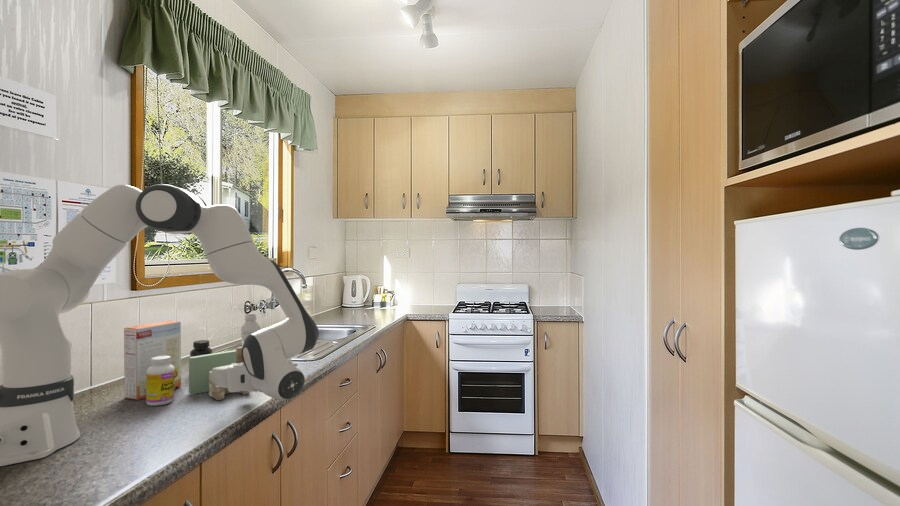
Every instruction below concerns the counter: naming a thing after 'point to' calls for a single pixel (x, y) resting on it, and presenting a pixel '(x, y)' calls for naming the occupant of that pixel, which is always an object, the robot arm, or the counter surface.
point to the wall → (206, 369)
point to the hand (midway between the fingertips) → (242, 364)
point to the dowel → (239, 354)
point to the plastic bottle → (249, 326)
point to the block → (219, 390)
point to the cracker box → (149, 354)
